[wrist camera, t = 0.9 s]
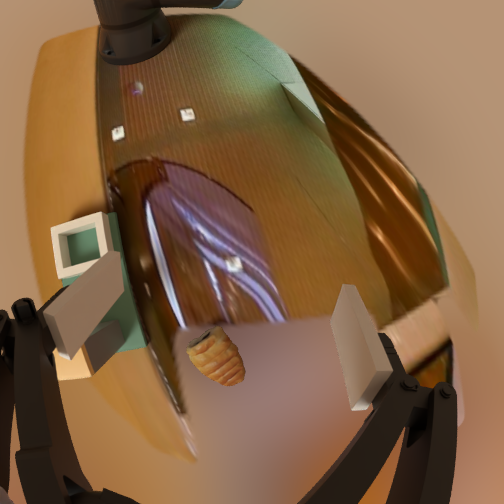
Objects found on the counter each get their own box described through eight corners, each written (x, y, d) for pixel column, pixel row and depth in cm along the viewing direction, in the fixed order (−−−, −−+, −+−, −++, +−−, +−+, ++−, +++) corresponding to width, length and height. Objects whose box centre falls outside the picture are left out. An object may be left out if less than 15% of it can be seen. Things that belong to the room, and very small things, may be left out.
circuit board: (57, 231, 35) (54, 230, 34) (116, 213, 37) (114, 211, 36) (86, 355, 34) (83, 358, 33) (147, 344, 36) (146, 346, 35)
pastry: (254, 366, 39) (259, 375, 36) (220, 391, 38) (222, 401, 35) (217, 320, 39) (218, 326, 35) (181, 346, 38) (179, 354, 34)
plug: (89, 325, 34) (43, 348, 20) (118, 319, 35) (79, 342, 21) (96, 348, 34) (55, 380, 20) (125, 342, 35) (91, 376, 21)
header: (59, 230, 34) (50, 227, 31) (108, 215, 36) (101, 211, 33) (67, 278, 34) (58, 278, 31) (116, 265, 35) (110, 264, 32)
